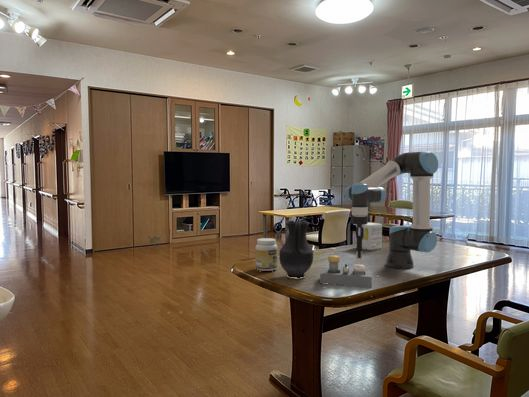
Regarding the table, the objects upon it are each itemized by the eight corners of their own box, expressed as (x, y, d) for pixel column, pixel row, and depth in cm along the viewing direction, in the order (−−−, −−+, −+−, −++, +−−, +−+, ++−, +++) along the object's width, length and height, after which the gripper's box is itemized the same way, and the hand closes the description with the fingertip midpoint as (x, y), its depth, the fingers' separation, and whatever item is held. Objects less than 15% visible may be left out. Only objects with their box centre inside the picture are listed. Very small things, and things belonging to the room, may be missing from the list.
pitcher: (311, 273, 211) (312, 217, 209) (315, 283, 190) (315, 222, 188) (279, 272, 212) (279, 217, 210) (279, 283, 191) (279, 222, 189)
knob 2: (364, 279, 193) (364, 264, 193) (364, 282, 188) (364, 267, 188) (353, 278, 195) (353, 263, 194) (352, 281, 189) (353, 266, 189)
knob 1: (339, 270, 196) (339, 255, 196) (338, 273, 191) (339, 257, 190) (328, 269, 197) (328, 255, 197) (327, 272, 192) (327, 257, 192)
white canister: (355, 247, 283) (355, 223, 282) (366, 245, 291) (367, 222, 290) (370, 250, 273) (370, 225, 271) (382, 248, 281) (382, 223, 279)
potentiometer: (349, 273, 191) (349, 263, 191) (348, 274, 188) (348, 265, 188) (343, 272, 192) (343, 263, 192) (342, 274, 189) (342, 264, 189)
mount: (371, 280, 196) (371, 270, 195) (371, 287, 184) (371, 276, 184) (322, 277, 202) (322, 267, 201) (320, 283, 190) (320, 273, 190)
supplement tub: (270, 273, 210) (270, 242, 209) (251, 270, 216) (251, 240, 215) (281, 268, 221) (281, 238, 220) (262, 266, 227) (262, 237, 226)
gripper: (352, 214, 197) (351, 260, 198) (351, 217, 184) (350, 266, 186) (367, 214, 195) (367, 261, 196) (367, 217, 182) (367, 267, 184)
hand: (359, 264), depth 191 cm, fingers closed
